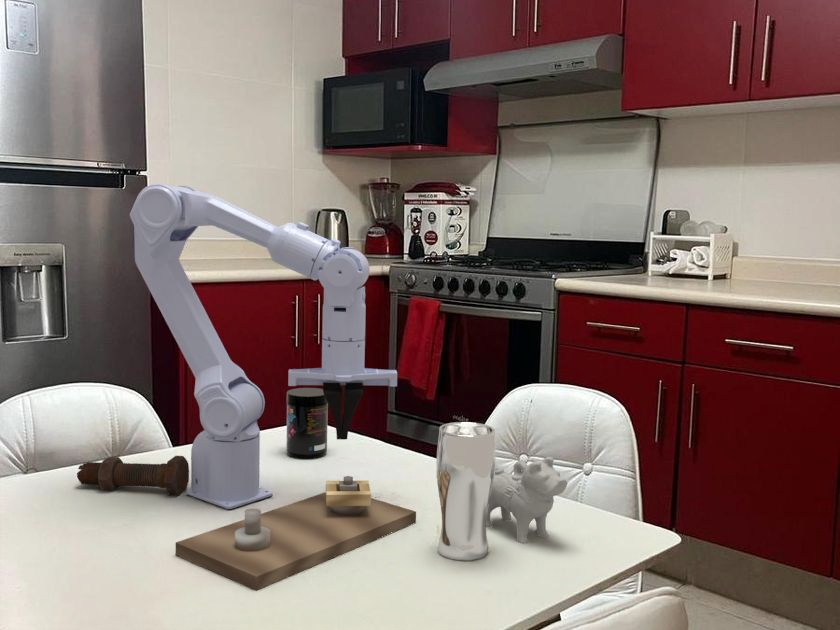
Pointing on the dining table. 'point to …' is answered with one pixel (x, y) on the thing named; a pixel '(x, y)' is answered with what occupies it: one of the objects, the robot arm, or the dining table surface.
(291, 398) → the supplement container
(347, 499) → the square wooden ring
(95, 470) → the bolt
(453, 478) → the beer glass
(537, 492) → the dog figurine
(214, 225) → the robot arm
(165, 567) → the dining table surface
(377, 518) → the board
